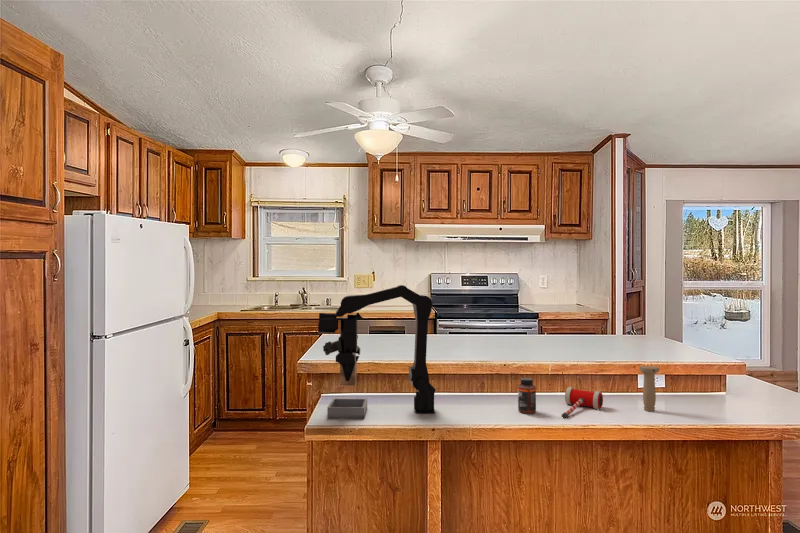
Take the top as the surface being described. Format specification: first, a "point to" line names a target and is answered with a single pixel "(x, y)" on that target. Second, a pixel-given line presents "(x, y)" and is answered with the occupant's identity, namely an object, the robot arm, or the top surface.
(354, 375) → the walnut block
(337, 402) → the grey square tray
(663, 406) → the top surface
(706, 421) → the top surface
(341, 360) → the robot arm
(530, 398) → the supplement bottle
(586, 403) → the toy hammer
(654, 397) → the handle
